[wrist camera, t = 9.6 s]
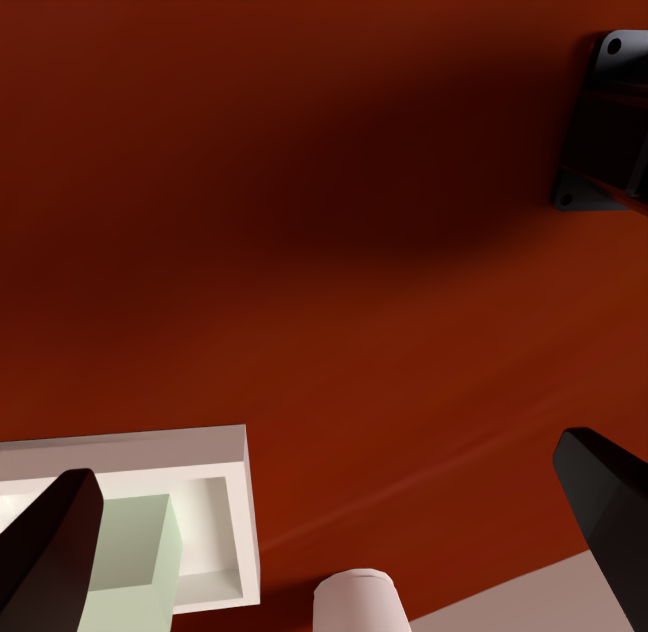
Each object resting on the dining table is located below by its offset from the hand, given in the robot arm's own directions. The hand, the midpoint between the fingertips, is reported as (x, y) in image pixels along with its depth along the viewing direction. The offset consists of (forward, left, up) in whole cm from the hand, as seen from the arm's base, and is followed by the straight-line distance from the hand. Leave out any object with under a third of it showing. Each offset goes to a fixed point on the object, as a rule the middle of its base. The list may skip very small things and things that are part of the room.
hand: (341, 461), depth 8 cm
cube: (+10, +18, -11) cm, 24 cm away
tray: (+10, +18, -12) cm, 24 cm away
